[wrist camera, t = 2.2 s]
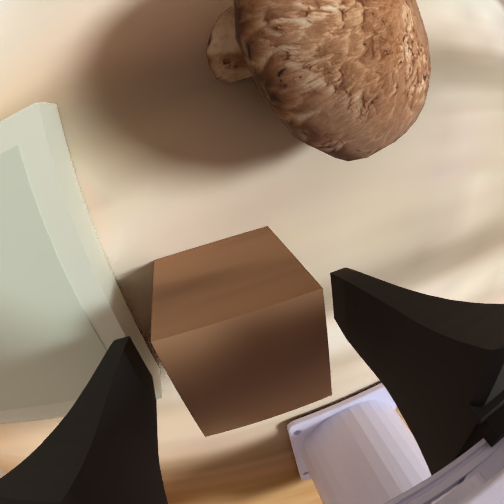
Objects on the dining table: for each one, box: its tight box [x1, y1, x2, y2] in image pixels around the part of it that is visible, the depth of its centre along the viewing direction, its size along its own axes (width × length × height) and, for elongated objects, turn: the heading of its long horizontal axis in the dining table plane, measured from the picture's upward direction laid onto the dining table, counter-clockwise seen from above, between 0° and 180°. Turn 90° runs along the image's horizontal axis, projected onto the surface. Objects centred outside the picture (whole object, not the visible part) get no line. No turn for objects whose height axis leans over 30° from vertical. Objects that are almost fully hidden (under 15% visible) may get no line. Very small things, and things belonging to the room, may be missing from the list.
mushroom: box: [206, 0, 431, 161], centre depth 8 cm, size 8×8×6 cm
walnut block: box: [151, 226, 332, 437], centre depth 11 cm, size 4×4×5 cm
